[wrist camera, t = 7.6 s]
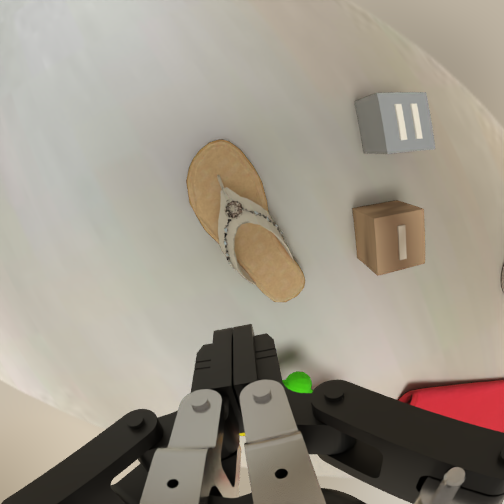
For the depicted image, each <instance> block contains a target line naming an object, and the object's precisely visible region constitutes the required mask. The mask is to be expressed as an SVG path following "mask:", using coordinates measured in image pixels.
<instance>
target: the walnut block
mask: <svg viewBox="0 0 504 504" xmlns="http://www.w3.org/2000/svg"><path fill="white" fill-rule="evenodd" d="M352 210H353V219H354V228H355V238H356V248H357V258H358V259H359V260H360V261H362V262H363V263H364V264H365V265H366V266H367V267H369V268H370V269H371V270H372V271H373V272H374V273H375V274H376V275H382V274H386V273H390V272H394V271H398V270H402V269H405V268H409V267H413V266H417V265H420V264H424V263H425V228H424V209H422V208H419V207H416V206H413V205H410V204H407V203H404V202H401V201H398V200H396V201H390V202H384V203H379V204H373V205H368V206H362V207H357V208H352Z"/></svg>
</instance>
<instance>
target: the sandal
mask: <svg viewBox="0 0 504 504" xmlns="http://www.w3.org/2000/svg"><path fill="white" fill-rule="evenodd" d="M186 182H187V189H188V195H189V202H190V205H191V207H192V208H193V210H194V212H195V214H196V216H197V218H198V219H199V221H200V223H201V225H202V226H203V228H204V229H205V230H206V232H207V233H208V234H209V235H210V236H211V237H212V238H213V239H215V240H216V241H217V242H218V243H219V244H220V247H221V249H222V252H223V253H224V254H225V255H226V257H227V260H229V264H230V265H231V266H232V267H233V268H234V269H235V270H237V271H238V272H239V273H240V275H241V276H242V277H244V278H245V279H246V280H248V281H249V282H251V283H252V284H253V285H257V287H258V288H259V289H260V290H261V291H262V292H263V293H264V294H265V295H266V296H268V297H269V298H270V299H271V300H273V301H274V302H287V301H289V300H290V299H292V298H294V297H296V296H297V295H298V294H299V293H300V292H301V290H302V289H303V288H304V285H305V278H304V274H303V272H302V270H301V269H300V267H299V265H298V264H297V263H296V261H295V260H294V259H293V257H292V255H291V253H290V250H289V248H288V247H287V245H286V243H285V241H284V239H283V236H282V232H281V231H280V229H279V228H278V225H276V224H275V223H274V222H273V220H272V218H271V217H270V215H269V213H268V205H267V199H266V196H265V192H264V188H263V185H262V181H261V180H260V178H259V176H258V174H257V172H256V170H255V169H254V167H253V165H252V164H251V163H250V161H249V160H248V159H247V157H246V156H245V155H244V154H243V152H242V151H241V150H240V149H239V148H237V147H236V146H235V145H233V144H232V143H231V142H229V141H226V140H216V141H213V142H210V143H208V144H207V145H206V146H205V147H203V148H202V149H201V150H200V151H199V152H198V153H197V155H196V156H195V157H194V159H193V160H192V163H191V165H190V167H189V171H188V176H187V180H186ZM278 230H279V231H278Z"/></svg>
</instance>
